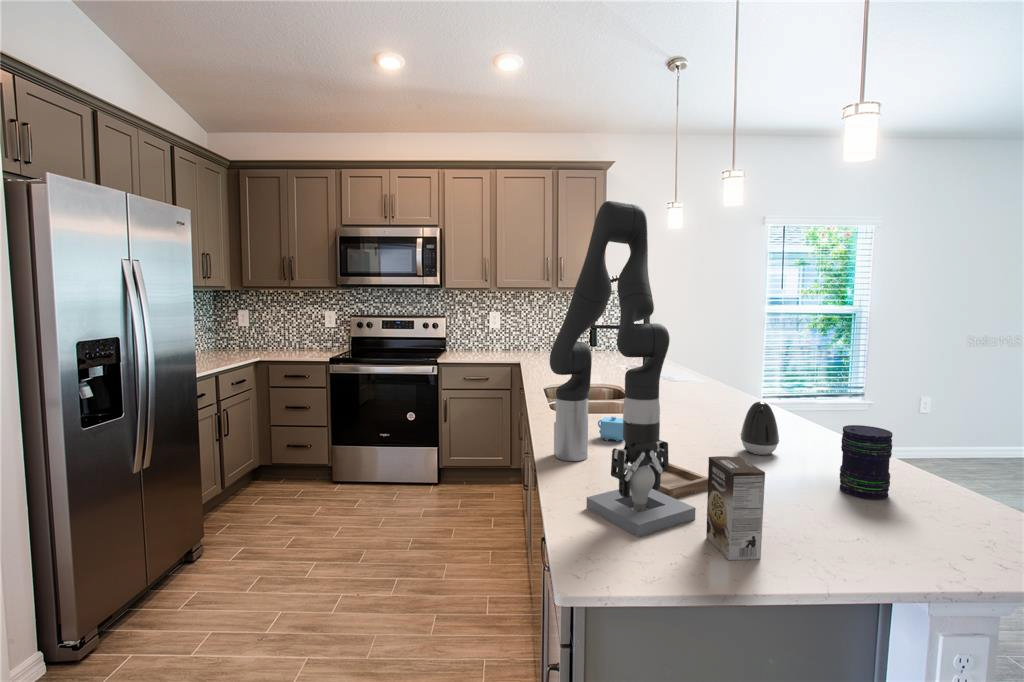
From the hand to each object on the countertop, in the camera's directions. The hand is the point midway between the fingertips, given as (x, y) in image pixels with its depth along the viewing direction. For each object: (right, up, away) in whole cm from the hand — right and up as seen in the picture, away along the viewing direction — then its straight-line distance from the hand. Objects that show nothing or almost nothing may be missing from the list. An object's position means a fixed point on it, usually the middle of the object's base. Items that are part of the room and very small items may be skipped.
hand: (639, 492), depth 112 cm
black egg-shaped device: (+46, -1, +43) cm, 63 cm away
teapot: (+6, 0, +57) cm, 57 cm away
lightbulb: (0, -5, 0) cm, 5 cm away
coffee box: (+13, -6, -15) cm, 21 cm away
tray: (+11, -3, +17) cm, 21 cm away
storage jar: (+56, -4, +12) cm, 57 cm away
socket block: (0, -5, 0) cm, 5 cm away
